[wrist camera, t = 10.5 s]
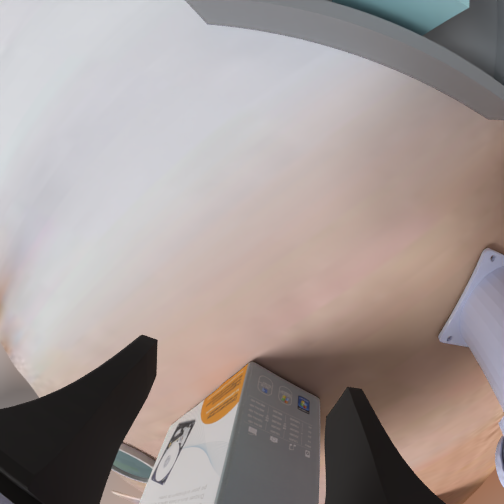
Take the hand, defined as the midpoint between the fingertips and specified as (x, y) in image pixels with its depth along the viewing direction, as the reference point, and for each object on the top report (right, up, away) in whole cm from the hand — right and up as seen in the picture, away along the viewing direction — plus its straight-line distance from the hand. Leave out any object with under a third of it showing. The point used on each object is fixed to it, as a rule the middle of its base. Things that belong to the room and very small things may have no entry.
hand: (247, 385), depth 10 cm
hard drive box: (-1, -11, +15) cm, 19 cm away
